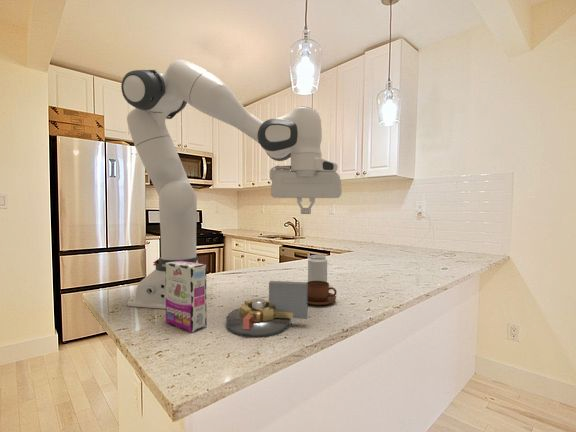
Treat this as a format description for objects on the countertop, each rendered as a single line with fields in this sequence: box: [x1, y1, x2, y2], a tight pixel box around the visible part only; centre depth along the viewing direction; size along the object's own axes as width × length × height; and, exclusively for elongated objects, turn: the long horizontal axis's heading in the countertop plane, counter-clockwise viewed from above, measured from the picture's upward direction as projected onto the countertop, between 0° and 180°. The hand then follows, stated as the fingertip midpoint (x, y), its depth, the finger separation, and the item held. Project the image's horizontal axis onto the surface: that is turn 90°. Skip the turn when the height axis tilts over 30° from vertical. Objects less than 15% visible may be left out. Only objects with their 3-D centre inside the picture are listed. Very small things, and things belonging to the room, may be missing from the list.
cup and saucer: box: [306, 281, 338, 306], centre depth 97 cm, size 12×12×6 cm
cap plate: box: [225, 298, 291, 338], centre depth 79 cm, size 17×17×6 cm
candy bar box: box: [165, 261, 208, 333], centre depth 78 cm, size 11×5×16 cm, turn 56°
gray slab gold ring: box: [238, 280, 309, 322], centre depth 78 cm, size 18×10×9 cm, turn 81°
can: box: [307, 254, 328, 282], centre depth 115 cm, size 8×8×12 cm
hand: (305, 213), depth 85 cm, fingers closed
